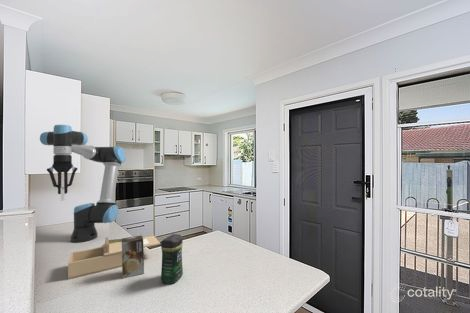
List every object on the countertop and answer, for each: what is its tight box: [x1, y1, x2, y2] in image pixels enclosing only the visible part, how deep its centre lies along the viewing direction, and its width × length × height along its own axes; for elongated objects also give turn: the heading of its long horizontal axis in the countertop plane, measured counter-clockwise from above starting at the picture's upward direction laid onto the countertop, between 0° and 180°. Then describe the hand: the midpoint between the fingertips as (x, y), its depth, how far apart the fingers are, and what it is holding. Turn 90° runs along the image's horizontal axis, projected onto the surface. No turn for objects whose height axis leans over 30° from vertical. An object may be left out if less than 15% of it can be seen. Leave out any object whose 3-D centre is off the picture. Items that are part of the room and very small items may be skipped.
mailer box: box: [67, 246, 122, 281], centre depth 111 cm, size 14×26×7 cm, turn 122°
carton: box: [100, 238, 122, 247], centre depth 131 cm, size 8×16×4 cm, turn 8°
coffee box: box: [121, 234, 145, 279], centre depth 103 cm, size 9×6×16 cm
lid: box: [103, 235, 161, 256], centre depth 119 cm, size 14×26×5 cm, turn 122°
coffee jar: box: [160, 233, 184, 284], centre depth 98 cm, size 10×8×19 cm
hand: (62, 200), depth 115 cm, fingers closed
